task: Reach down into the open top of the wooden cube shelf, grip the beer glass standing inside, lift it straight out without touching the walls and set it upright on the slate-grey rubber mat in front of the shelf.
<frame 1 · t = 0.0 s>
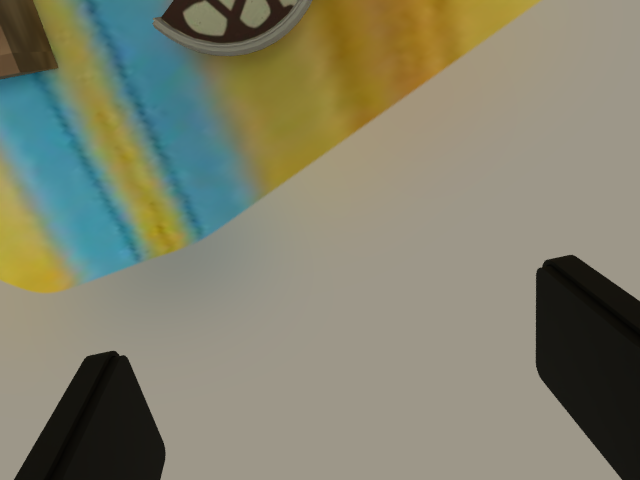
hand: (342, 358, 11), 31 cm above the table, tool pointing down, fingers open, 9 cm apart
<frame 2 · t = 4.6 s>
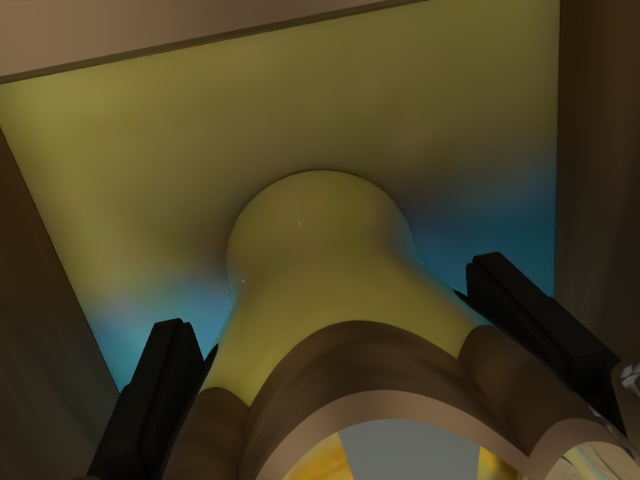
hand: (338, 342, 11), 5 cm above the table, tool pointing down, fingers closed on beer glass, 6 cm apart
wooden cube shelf: (320, 258, 16), on the table
beer glass: (319, 256, 16), resting in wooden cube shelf, touching gripper
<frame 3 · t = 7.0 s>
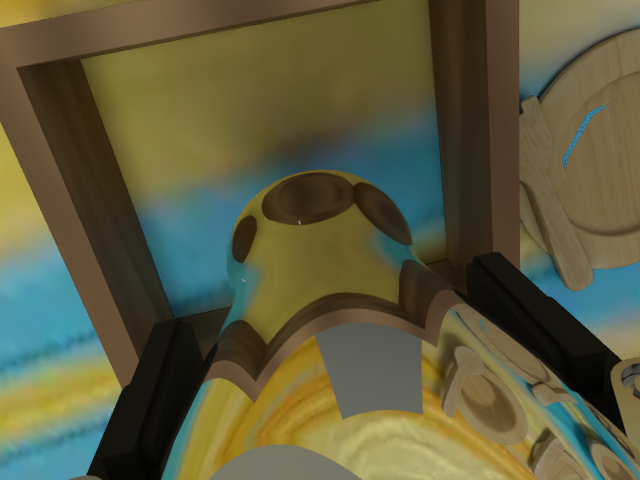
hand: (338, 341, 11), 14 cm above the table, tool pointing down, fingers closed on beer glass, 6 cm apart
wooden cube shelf: (287, 172, 24), on the table
beer glass: (319, 255, 16), point 9 cm above the table, touching gripper
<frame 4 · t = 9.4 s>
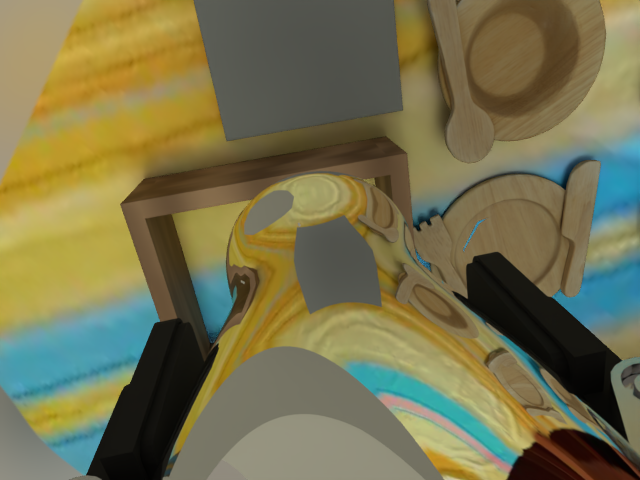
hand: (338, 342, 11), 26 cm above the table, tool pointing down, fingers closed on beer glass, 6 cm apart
grey mat: (301, 44, 33), on the table
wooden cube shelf: (285, 255, 39), on the table
tableware set: (605, 129, 38), on the table
beer glass: (319, 257, 16), point 21 cm above the table, touching gripper
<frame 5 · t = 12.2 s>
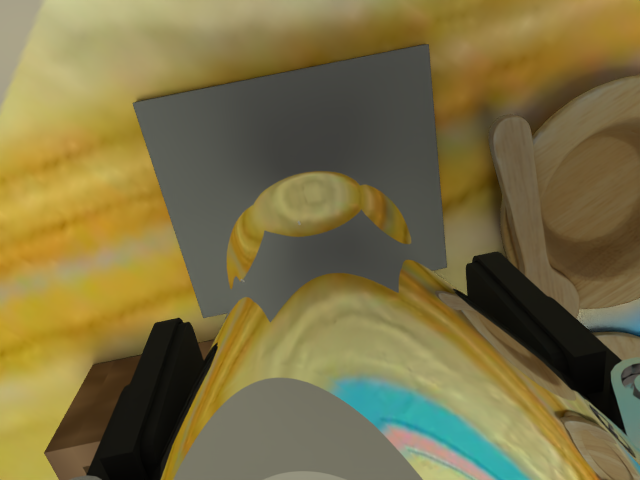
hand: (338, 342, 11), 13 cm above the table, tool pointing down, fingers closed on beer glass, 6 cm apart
grey mat: (304, 190, 23), on the table
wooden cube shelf: (289, 440, 29), on the table
beer glass: (319, 256, 16), point 8 cm above the table, touching gripper
when the fingers open (6 cm above the table, at t = 14.5 s): beer glass stays where it is, resting on grey mat.
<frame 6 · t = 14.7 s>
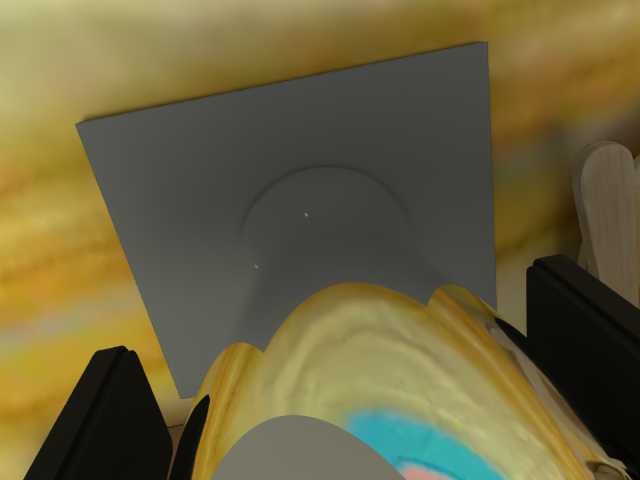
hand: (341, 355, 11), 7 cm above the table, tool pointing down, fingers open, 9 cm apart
grey mat: (314, 236, 17), on the table
beer glass: (324, 246, 17), resting on grey mat
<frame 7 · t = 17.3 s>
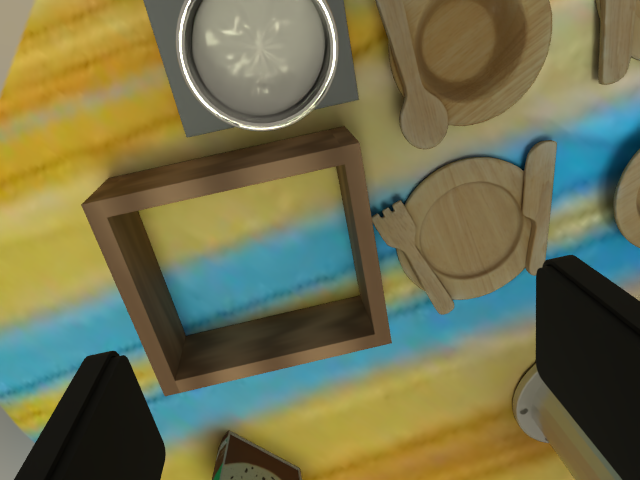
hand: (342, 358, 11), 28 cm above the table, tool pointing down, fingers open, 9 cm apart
grey mat: (254, 39, 33), on the table
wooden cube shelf: (254, 246, 39), on the table
tableware set: (561, 110, 39), on the table
food container: (247, 466, 50), on the table
beer glass: (259, 42, 33), resting on grey mat
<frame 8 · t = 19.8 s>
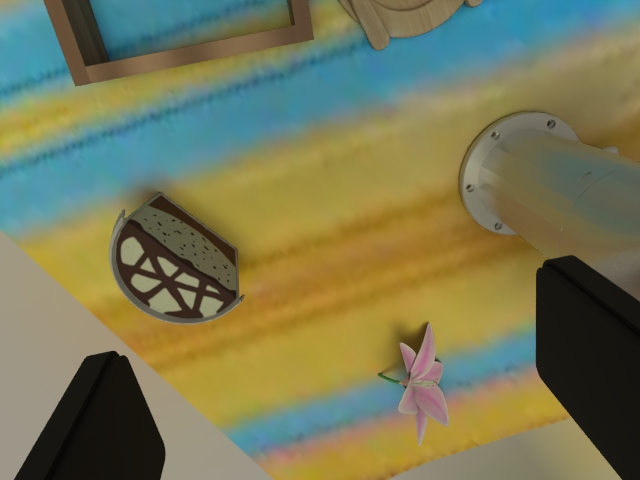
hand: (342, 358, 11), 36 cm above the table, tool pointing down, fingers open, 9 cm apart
lily: (409, 358, 56), on the table
food container: (181, 242, 48), on the table
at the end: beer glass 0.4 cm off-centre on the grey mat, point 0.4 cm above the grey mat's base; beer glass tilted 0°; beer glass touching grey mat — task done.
